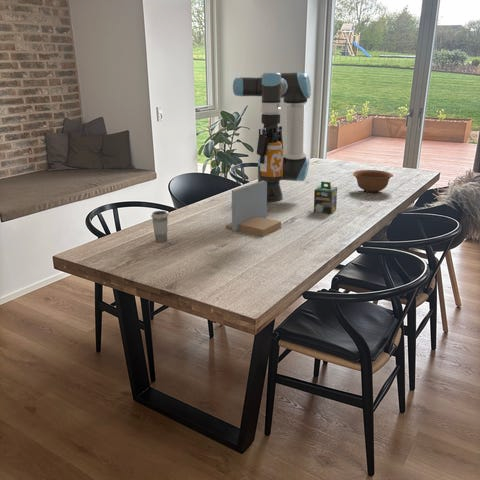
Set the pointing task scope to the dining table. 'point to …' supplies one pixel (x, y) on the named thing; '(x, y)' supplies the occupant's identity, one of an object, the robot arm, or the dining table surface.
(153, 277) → the dining table surface
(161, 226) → the cup
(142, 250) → the dining table surface
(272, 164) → the canister
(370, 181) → the bowl
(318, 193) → the chalk box
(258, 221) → the wooden stand with panel
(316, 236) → the dining table surface
